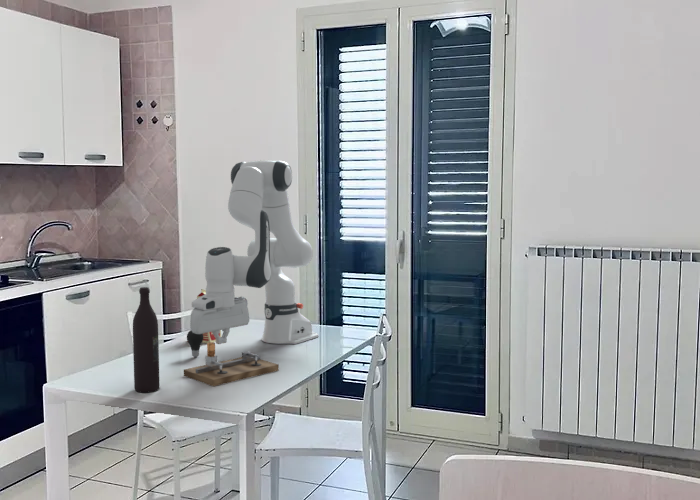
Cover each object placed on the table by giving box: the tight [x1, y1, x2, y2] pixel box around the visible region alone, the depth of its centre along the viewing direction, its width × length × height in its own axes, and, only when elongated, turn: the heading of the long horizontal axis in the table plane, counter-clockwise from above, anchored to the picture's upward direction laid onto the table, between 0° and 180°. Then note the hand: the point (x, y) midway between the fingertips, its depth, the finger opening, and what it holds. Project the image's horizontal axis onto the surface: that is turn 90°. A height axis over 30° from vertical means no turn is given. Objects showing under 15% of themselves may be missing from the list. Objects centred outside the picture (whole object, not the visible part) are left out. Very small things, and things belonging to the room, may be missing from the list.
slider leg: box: [205, 342, 223, 372], centre depth 220 cm, size 2×7×8 cm, turn 45°
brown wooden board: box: [183, 356, 280, 387], centre depth 225 cm, size 25×16×2 cm, turn 136°
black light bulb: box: [186, 329, 203, 359], centre depth 244 cm, size 6×6×10 cm
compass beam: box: [196, 351, 261, 374], centre depth 225 cm, size 24×6×3 cm, turn 136°
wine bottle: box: [132, 286, 160, 394], centre depth 206 cm, size 7×7×30 cm
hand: (221, 343), depth 224 cm, fingers closed
